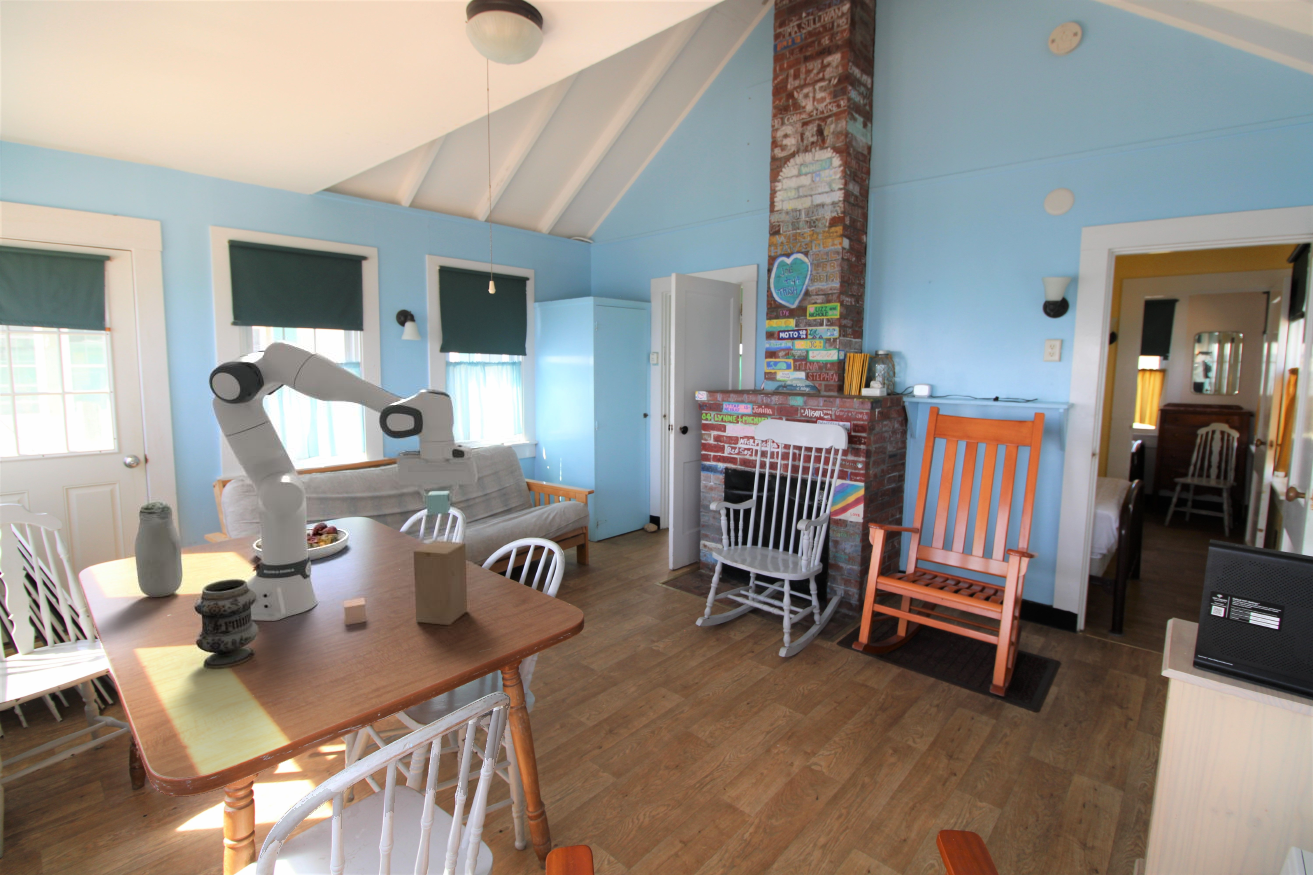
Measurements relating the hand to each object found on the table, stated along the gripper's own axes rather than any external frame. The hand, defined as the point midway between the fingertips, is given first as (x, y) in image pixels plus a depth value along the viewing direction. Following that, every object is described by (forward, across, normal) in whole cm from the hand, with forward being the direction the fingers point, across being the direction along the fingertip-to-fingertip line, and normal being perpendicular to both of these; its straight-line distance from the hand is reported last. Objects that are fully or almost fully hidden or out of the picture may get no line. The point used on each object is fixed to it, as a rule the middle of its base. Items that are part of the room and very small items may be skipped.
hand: (438, 501), depth 165 cm
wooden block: (+33, 0, 0) cm, 33 cm away
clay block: (+33, -23, +1) cm, 40 cm away
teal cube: (+3, 0, 0) cm, 3 cm away
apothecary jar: (+33, -45, -18) cm, 58 cm away
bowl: (+33, -60, +65) cm, 95 cm away
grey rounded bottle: (+33, -84, +26) cm, 94 cm away
